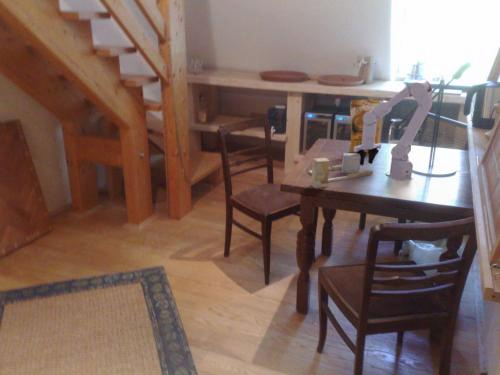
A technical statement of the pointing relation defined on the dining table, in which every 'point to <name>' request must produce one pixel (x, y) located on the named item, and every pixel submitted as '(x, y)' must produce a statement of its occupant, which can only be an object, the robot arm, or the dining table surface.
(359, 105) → the pancake mix bag
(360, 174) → the pair of tan bars
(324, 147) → the dining table surface
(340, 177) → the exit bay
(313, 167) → the skincare box
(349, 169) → the medicine box
